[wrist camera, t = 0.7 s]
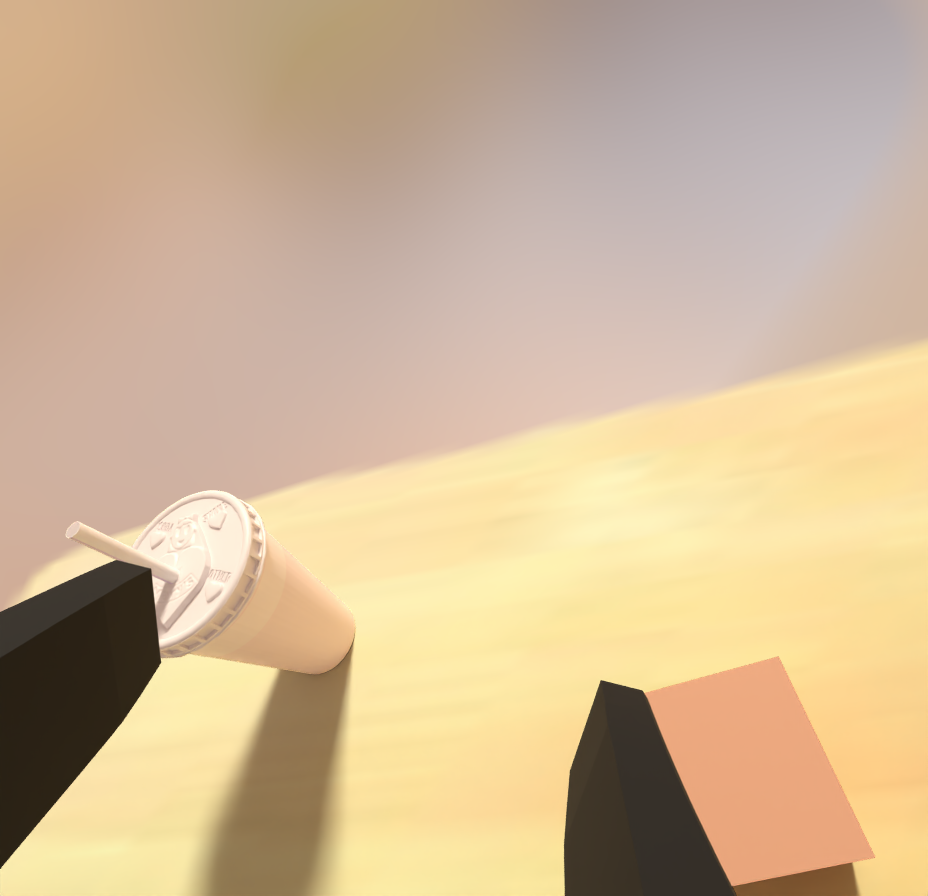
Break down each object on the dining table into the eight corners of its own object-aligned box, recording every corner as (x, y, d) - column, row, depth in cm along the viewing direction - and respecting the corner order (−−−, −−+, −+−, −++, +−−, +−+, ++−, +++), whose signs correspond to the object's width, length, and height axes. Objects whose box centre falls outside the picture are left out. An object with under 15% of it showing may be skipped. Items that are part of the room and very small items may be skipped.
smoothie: (261, 715, 29) (-34, 634, 18) (274, 588, 33) (35, 459, 22) (380, 691, 27) (134, 586, 16) (379, 560, 31) (178, 405, 20)
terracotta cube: (850, 856, 19) (875, 858, 15) (690, 888, 20) (675, 897, 16) (774, 690, 22) (778, 656, 18) (638, 726, 23) (615, 701, 19)
